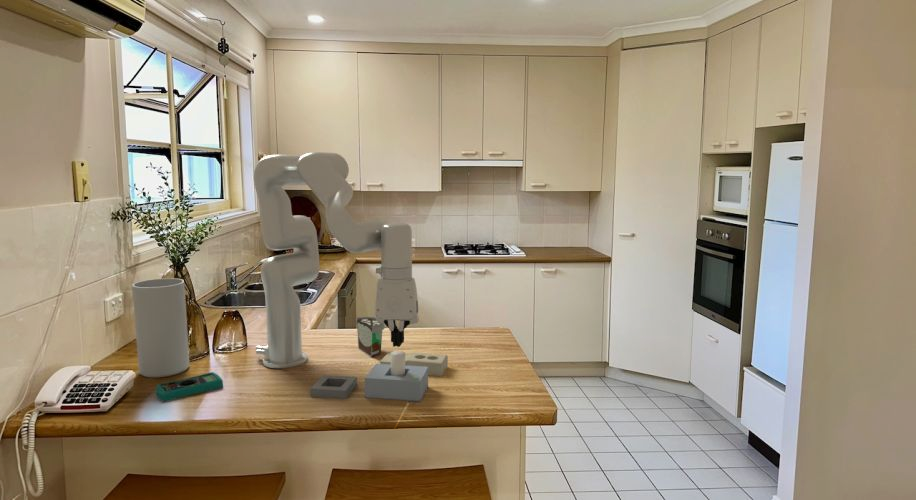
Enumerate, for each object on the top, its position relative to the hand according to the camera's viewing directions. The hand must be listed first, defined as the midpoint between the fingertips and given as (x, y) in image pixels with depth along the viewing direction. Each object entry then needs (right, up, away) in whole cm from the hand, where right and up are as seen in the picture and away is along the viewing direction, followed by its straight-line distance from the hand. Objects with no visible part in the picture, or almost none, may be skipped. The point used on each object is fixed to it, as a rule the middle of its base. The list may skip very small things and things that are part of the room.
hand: (397, 344), depth 139 cm
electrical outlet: (+3, -11, +19) cm, 22 cm away
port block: (0, -13, +2) cm, 13 cm away
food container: (-11, -8, +33) cm, 36 cm away
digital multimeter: (-53, -13, +3) cm, 55 cm away
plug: (0, -12, +2) cm, 12 cm away
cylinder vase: (-67, -10, +16) cm, 70 cm away
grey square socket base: (-16, -12, +2) cm, 21 cm away
